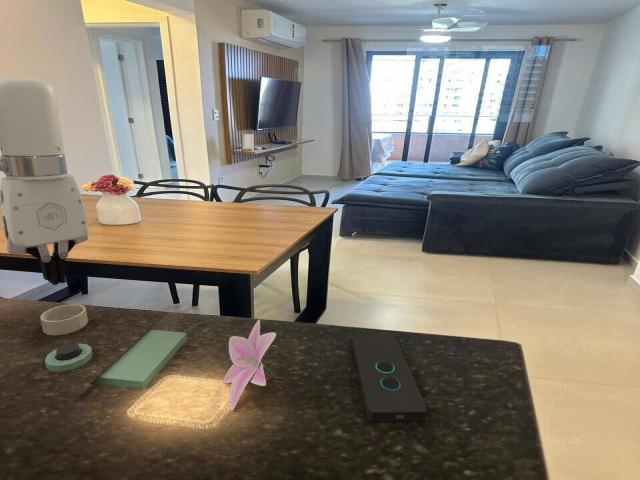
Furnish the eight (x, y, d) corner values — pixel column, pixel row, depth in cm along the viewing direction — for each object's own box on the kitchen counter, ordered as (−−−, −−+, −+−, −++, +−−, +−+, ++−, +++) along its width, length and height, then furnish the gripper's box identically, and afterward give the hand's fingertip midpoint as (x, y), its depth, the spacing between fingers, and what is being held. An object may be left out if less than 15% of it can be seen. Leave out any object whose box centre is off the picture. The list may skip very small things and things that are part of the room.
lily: (236, 362, 65) (206, 327, 59) (300, 341, 63) (276, 302, 58) (229, 431, 55) (193, 397, 49) (305, 408, 53) (276, 369, 48)
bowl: (35, 343, 67) (30, 319, 65) (64, 324, 73) (60, 302, 72) (70, 346, 66) (66, 323, 65) (97, 327, 72) (94, 305, 71)
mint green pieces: (39, 380, 57) (35, 363, 56) (103, 331, 71) (100, 317, 70) (142, 391, 55) (140, 374, 54) (187, 339, 69) (186, 324, 68)
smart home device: (368, 411, 50) (350, 333, 69) (367, 422, 51) (349, 341, 70) (429, 411, 51) (395, 333, 70) (428, 421, 51) (394, 341, 70)
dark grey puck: (52, 360, 58) (51, 352, 57) (67, 349, 60) (66, 342, 60) (70, 362, 57) (69, 354, 57) (85, 351, 60) (83, 343, 60)
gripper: (-21, 173, 49) (7, 303, 54) (101, 166, 60) (114, 274, 65) (-37, 168, 53) (-9, 289, 58) (80, 163, 65) (94, 264, 70)
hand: (56, 281), depth 62 cm, fingers closed
